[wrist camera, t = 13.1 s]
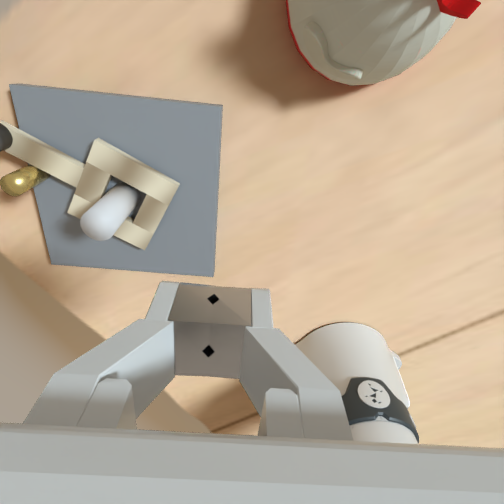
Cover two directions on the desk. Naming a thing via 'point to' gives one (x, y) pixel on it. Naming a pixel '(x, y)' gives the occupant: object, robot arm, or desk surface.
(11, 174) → the gold rounded cylinder
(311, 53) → the kitchen timer
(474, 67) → the desk surface
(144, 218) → the knobbed lever handle
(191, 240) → the board
